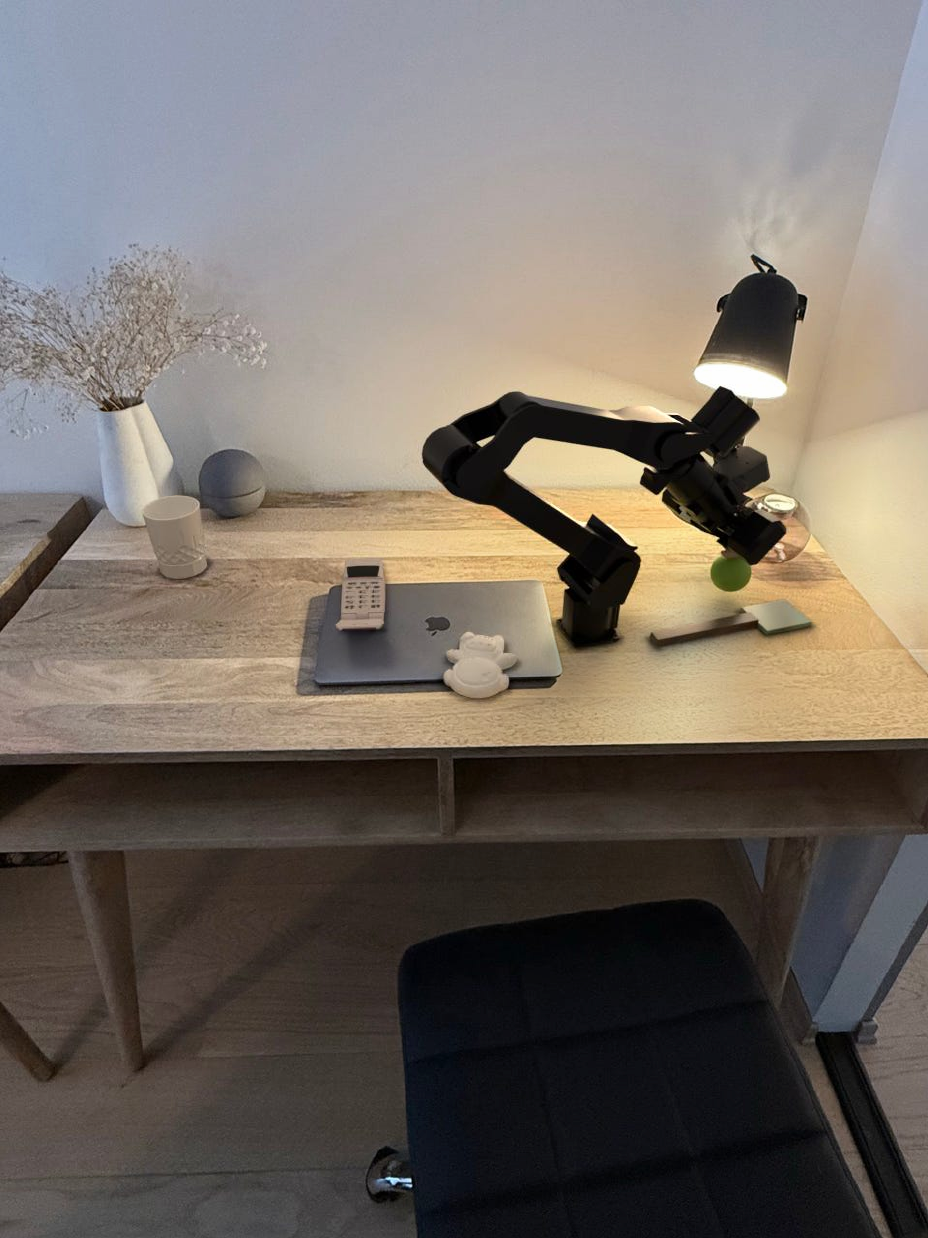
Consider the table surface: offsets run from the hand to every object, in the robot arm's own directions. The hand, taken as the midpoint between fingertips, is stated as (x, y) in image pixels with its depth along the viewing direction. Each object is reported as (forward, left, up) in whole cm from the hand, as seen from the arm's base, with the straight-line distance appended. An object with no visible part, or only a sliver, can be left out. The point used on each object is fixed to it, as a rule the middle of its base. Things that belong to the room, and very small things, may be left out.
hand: (747, 545), depth 112 cm
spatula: (-6, -7, -8) cm, 12 cm away
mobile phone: (-51, +12, -8) cm, 53 cm away
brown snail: (-1, 0, -7) cm, 7 cm away
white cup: (-74, +32, -8) cm, 81 cm away
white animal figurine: (-40, -5, -8) cm, 41 cm away
